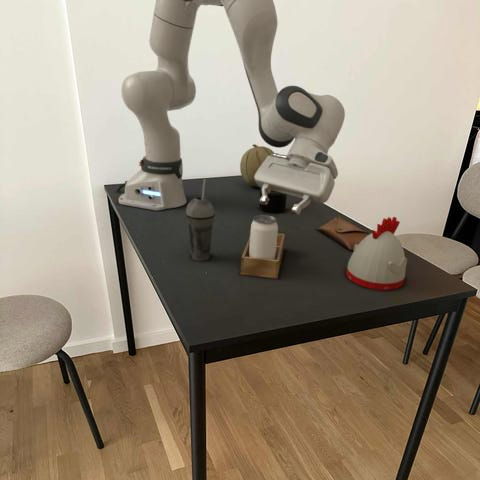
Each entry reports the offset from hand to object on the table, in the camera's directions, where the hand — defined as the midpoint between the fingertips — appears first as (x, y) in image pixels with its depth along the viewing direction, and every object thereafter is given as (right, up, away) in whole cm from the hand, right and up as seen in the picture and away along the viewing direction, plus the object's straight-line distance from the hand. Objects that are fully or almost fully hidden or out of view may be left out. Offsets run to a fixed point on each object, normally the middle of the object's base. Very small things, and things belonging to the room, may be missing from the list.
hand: (278, 208), depth 110 cm
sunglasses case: (+21, -4, +23) cm, 31 cm away
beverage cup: (-20, -11, +8) cm, 24 cm away
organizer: (-3, -12, +7) cm, 14 cm away
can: (-4, -14, +3) cm, 15 cm away
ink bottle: (+1, +10, +42) cm, 43 cm away
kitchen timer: (+24, -16, +3) cm, 29 cm away
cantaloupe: (-2, +23, +63) cm, 68 cm away
